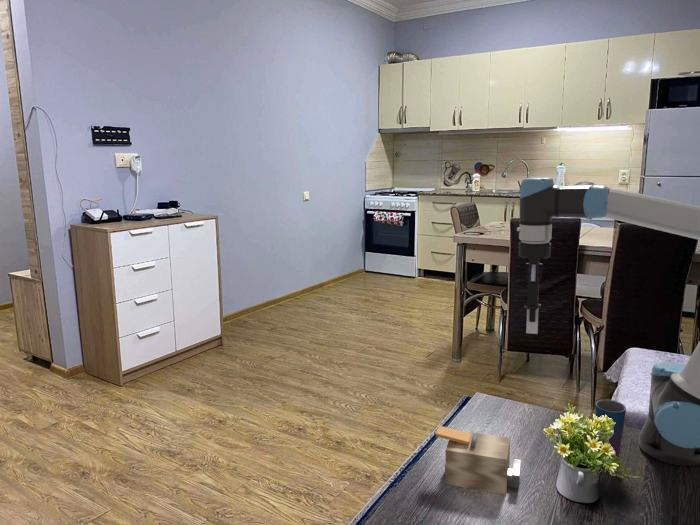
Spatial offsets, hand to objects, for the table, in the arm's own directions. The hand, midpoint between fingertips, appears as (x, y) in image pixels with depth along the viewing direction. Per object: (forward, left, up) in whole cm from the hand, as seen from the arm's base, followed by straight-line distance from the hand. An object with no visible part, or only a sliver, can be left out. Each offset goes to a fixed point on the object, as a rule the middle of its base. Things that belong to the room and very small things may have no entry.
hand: (531, 332), depth 134 cm
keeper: (+16, +17, -23) cm, 33 cm away
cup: (-19, 0, -33) cm, 38 cm away
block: (+11, +17, -32) cm, 38 cm away
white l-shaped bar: (+11, +17, -33) cm, 38 cm away
